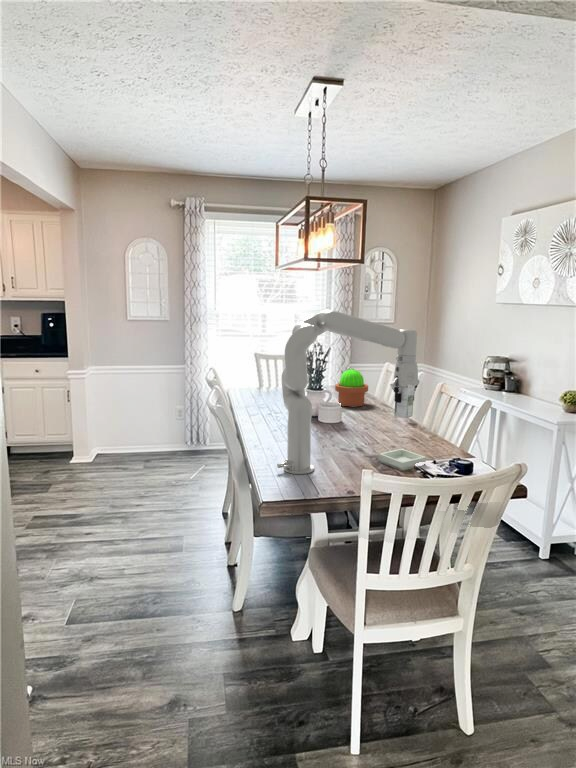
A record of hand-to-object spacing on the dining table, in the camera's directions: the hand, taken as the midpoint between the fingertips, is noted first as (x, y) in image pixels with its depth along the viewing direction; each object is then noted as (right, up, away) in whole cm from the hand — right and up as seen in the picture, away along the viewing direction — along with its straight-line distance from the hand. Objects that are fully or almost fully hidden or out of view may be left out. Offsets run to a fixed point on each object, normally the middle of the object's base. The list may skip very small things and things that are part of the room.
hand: (404, 400), depth 201 cm
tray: (0, -27, +5) cm, 27 cm away
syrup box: (0, -7, +1) cm, 7 cm away
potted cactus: (-6, -7, +122) cm, 123 cm away
